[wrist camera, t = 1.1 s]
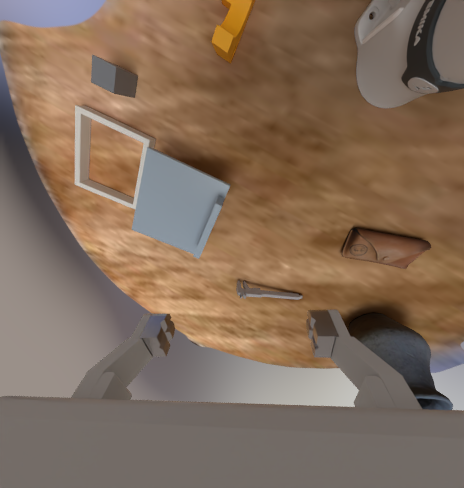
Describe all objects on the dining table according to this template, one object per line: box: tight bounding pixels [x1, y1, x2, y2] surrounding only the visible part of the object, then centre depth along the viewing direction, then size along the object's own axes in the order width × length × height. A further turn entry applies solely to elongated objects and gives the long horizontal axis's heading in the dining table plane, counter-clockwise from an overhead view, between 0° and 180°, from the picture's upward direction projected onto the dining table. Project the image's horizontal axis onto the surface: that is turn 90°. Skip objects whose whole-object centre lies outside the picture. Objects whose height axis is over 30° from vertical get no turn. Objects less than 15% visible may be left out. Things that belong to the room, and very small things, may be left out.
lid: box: [132, 147, 230, 258], centre depth 37 cm, size 17×15×5 cm
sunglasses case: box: [342, 228, 431, 269], centre depth 48 cm, size 18×7×7 cm
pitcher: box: [348, 313, 453, 410], centre depth 55 cm, size 21×22×25 cm
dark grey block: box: [91, 55, 138, 98], centre depth 34 cm, size 4×4×7 cm
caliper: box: [236, 280, 303, 300], centre depth 57 cm, size 20×1×6 cm, turn 77°
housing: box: [75, 105, 156, 210], centre depth 43 cm, size 16×14×3 cm
